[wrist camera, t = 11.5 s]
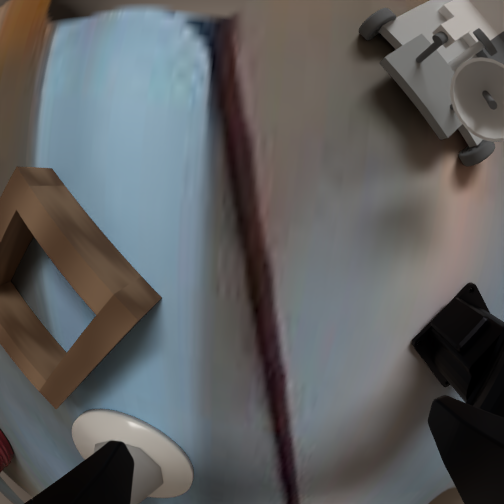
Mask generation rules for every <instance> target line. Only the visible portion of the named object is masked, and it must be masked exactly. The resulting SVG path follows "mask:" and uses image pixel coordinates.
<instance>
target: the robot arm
mask: <svg viewBox="0 0 504 504" xmlns="http://www.w3.org/2000/svg"><path fill="white" fill-rule="evenodd" d="M470 288H472V289H471V291H470ZM469 291H470V292H469ZM419 341H421V342H420V343H419V344H417V343H418V342H419ZM412 345H413V347H414V348H415V349H416V351H417V352H418V353H419V354H420V356H421V357H422V358H423V360H424V361H425V362H426V364H427V365H428V366H429V368H430V369H431V370H432V372H433V373H434V374H435V376H436V377H437V379H438V380H439V381H440V383H441V384H442V385H443V386H444V387H447V386H449V385H450V384H451V386H452V387H453V388H454V389H455V390H456V392H457V393H458V394H459V395H460V396H461V398H462V399H463V400H464V401H465V403H464V402H462V401H459V400H457V399H454V398H452V397H449V396H442V397H439V398H437V399H435V400H434V401H433V403H432V406H431V410H430V414H429V417H428V424H429V427H430V430H431V432H432V435H433V437H434V440H435V442H436V445H437V448H438V450H439V453H440V455H441V458H442V460H443V463H444V465H445V467H446V469H447V470H448V472H449V474H450V476H451V478H452V480H453V482H454V484H455V486H456V488H457V490H458V492H459V494H460V496H461V498H462V500H463V502H464V504H504V322H503V321H501V320H500V319H498V318H497V317H495V316H494V315H492V314H490V312H489V310H488V308H487V306H486V304H485V302H484V300H483V298H482V296H481V294H480V292H479V290H478V288H477V286H476V285H475V284H473V283H468V284H467V285H466V286H465V287H464V288H463V289H462V290H461V291H460V292H459V293H458V295H457V296H456V297H455V298H454V299H453V300H452V301H451V302H450V303H449V304H448V305H447V306H446V307H445V308H444V309H443V310H442V311H441V312H440V313H439V314H438V315H437V316H436V317H435V318H434V319H433V320H432V321H431V322H430V323H429V324H428V325H427V326H426V327H425V328H424V329H423V330H422V331H421V332H420V333H419V334H418V335H417V336H416V337H415V338H414V339H413V341H412ZM133 474H134V459H133V457H132V455H131V454H130V452H129V450H128V448H127V446H126V445H125V443H124V442H122V441H109V442H108V443H106V444H105V445H104V446H102V447H101V448H100V449H99V450H97V451H96V452H95V453H93V454H92V455H91V456H90V457H88V458H87V459H86V460H84V461H83V462H82V463H80V464H79V465H78V466H76V467H75V468H74V469H72V470H71V471H70V472H68V473H67V474H66V475H64V476H63V477H61V478H60V479H59V480H57V481H56V482H55V483H53V484H52V485H50V486H49V487H48V488H46V489H45V490H43V491H42V492H41V493H39V494H38V495H36V496H35V497H33V499H30V500H29V501H27V502H26V503H24V504H130V502H131V493H132V483H133Z"/></svg>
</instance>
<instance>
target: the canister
mask: <svg viewBox="0 0 504 504" xmlns="http://www.w3.org/2000/svg"><path fill="white" fill-rule="evenodd" d="M13 456H14V455H13V450H12V448H11V446H10V444H9V442H8V440H7V439H6V437H5V436H4V434H3V433H2V431H1V430H0V472H1V471H2V470H3V469H4V468H5V467H7V466H8V465H9V464H10V463H11V460H12V458H13Z"/></svg>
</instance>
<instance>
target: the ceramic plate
mask: <svg viewBox="0 0 504 504" xmlns="http://www.w3.org/2000/svg"><path fill="white" fill-rule="evenodd" d="M72 436H73V440H74V443H75V445H76V447H77V449H78V451H79V452H80V454H81V455H82V457H83V458H84V459H85V460H86V459H87V458H88V457H90V456H91V455H92V454H93V453H94V448H95V444H97V443H101V442H105V441H109V440H114V441H122V442H124V443H125V444H127V445H131V446H134V447H138V448H140V449H141V450H142V451H143V452H144V453H146V454H147V455H148V456H149V457H150V458H151V459H152V460H153V461H154V462H155V463H156V464H157V465H159V466H160V467H161V472H162V477H163V482H164V483H163V484H162V485H161V486H160V487H159V488H158V489H156V490H155V491H154V492H153V493H151V494H150V495H149V496H148V497H155V498H170V497H176V496H179V495H181V494H184V493H185V492H186V491H188V489H189V488H190V487H191V484H192V481H193V477H194V469H193V466H192V463H191V461H190V459H189V458H188V456H187V455H186V453H185V452H184V451H183V450H182V449H181V447H179V446H178V445H177V444H176V443H175V442H174V441H173V440H172V439H171V438H169V437H168V436H167V435H165V434H164V433H163V432H161V431H160V430H158V429H156V428H155V427H153V426H152V425H150V424H148V423H146V422H144V421H142V420H140V419H138V418H135V417H133V416H131V415H128V414H125V413H122V412H118V411H114V410H109V409H91V410H88V411H85V412H83V413H82V414H81V415H80V416H79V417H78V418H77V419H76V421H75V422H74V424H73V427H72Z"/></svg>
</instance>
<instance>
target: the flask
mask: <svg viewBox="0 0 504 504" xmlns="http://www.w3.org/2000/svg"><path fill="white" fill-rule="evenodd" d="M109 441H114V440H109ZM109 441H105V442H101V443H97V444H95V448H94V453H95V452H96V451H97V450H99V449H100V448H101V447H102V446H104V445H105V444H106V443H108V442H109ZM125 445H126V446H127V448H128V450H129V452H130V454H131V455H132V457H133V459H134V474H133V483H132V493H131V502H130V504H139V503H141V502H142V501H143V500H144V499H145V498H147V497H148V496H149V495H150V494H151V493H153V492H154V491H155V490H156V489H158V488H159V487H160V486H161V485H162V484H163V483H164V482H163V477H162V472H161V467H160V466H159V465H157V464H156V463H155V462H154V461H153V460H152V459H151V458H150V457H149V456H148V455H147V454H146V453H144V452H143V451H142V450H141V449H140V448H138V447H134V446H131V445H127V444H125Z"/></svg>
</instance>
